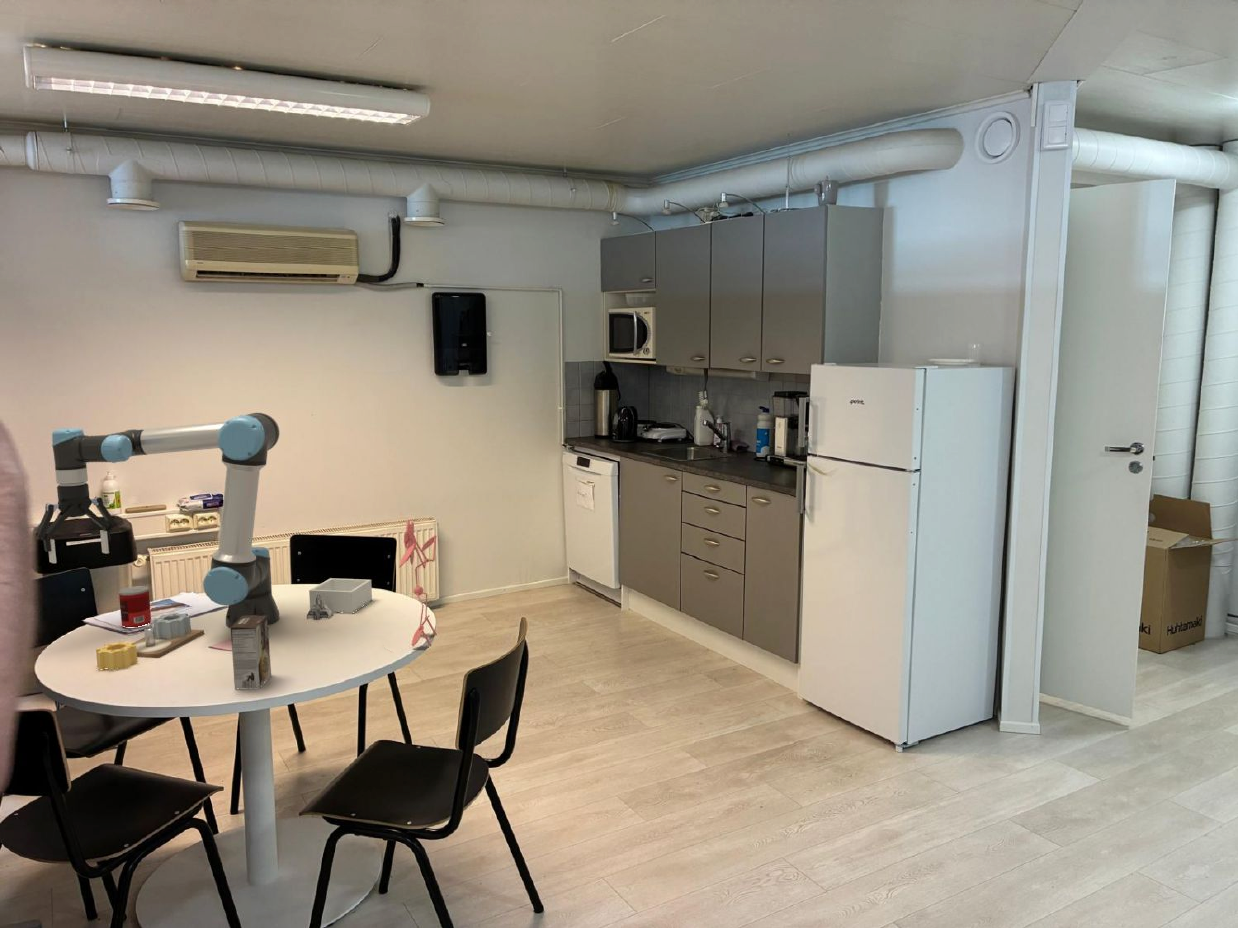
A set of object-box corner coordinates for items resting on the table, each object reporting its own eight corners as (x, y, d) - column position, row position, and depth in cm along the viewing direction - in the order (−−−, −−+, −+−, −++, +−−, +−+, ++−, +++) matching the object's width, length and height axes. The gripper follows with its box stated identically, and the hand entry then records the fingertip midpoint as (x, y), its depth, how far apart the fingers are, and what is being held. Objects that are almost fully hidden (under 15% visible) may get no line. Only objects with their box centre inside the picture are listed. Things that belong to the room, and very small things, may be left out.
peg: (157, 644, 242) (155, 622, 241) (151, 647, 239) (150, 625, 238) (149, 644, 242) (147, 622, 241) (143, 647, 240) (142, 625, 239)
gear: (197, 629, 254) (195, 609, 253) (177, 640, 245) (175, 619, 244) (169, 628, 255) (167, 608, 254) (148, 638, 246) (146, 617, 245)
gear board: (204, 633, 254) (204, 629, 254) (158, 658, 234) (158, 653, 234) (163, 631, 256) (163, 627, 256) (115, 656, 236) (114, 651, 236)
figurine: (444, 625, 260) (440, 511, 256) (429, 656, 235) (424, 529, 230) (392, 626, 260) (387, 511, 255) (371, 657, 234) (366, 530, 229)
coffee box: (246, 676, 222) (242, 615, 219) (272, 675, 222) (268, 614, 220) (233, 690, 213) (229, 626, 210) (260, 689, 213) (256, 626, 211)
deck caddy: (372, 600, 286) (371, 579, 285) (352, 613, 272) (351, 592, 271) (331, 598, 288) (330, 578, 287) (310, 611, 274) (309, 590, 273)
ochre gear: (144, 660, 233) (143, 642, 232) (121, 672, 224) (119, 653, 224) (114, 658, 234) (112, 640, 234) (90, 670, 226) (88, 652, 225)
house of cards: (293, 624, 264) (292, 599, 262) (306, 615, 272) (305, 591, 271) (322, 625, 263) (320, 600, 262) (334, 616, 271) (333, 592, 270)
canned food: (157, 620, 266) (154, 585, 264) (140, 629, 258) (137, 593, 257) (133, 620, 267) (130, 585, 265) (115, 628, 259) (112, 592, 257)
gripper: (113, 476, 256) (120, 547, 259) (16, 488, 237) (24, 564, 240) (125, 479, 252) (132, 550, 255) (26, 491, 232) (35, 568, 235)
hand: (79, 557), depth 247 cm, fingers open, 13 cm apart
